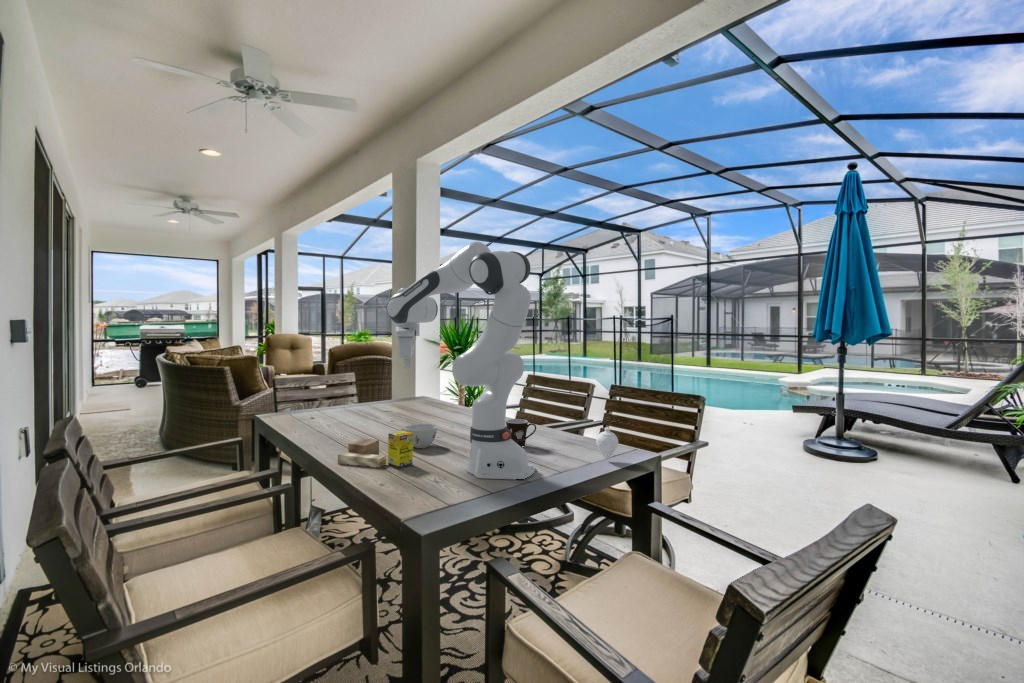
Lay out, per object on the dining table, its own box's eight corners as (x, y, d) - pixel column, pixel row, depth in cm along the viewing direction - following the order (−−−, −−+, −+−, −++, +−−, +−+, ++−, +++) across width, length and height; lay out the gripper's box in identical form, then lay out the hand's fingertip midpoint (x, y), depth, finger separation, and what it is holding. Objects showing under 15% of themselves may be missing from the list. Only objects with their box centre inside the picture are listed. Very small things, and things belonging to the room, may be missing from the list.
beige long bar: (385, 464, 159) (385, 455, 158) (379, 467, 155) (379, 458, 155) (344, 460, 163) (344, 451, 163) (337, 463, 159) (337, 454, 159)
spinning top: (607, 466, 159) (608, 431, 159) (591, 460, 165) (591, 427, 165) (622, 462, 164) (623, 428, 163) (606, 457, 170) (606, 424, 169)
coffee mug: (503, 448, 180) (504, 422, 179) (507, 443, 188) (508, 418, 188) (533, 450, 178) (534, 424, 178) (536, 444, 186) (536, 419, 186)
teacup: (442, 443, 187) (442, 423, 186) (431, 452, 174) (431, 430, 174) (406, 441, 189) (406, 421, 189) (393, 449, 177) (393, 428, 177)
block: (379, 456, 168) (378, 440, 168) (365, 462, 161) (365, 445, 160) (362, 454, 170) (362, 438, 170) (348, 460, 163) (348, 443, 163)
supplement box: (399, 468, 154) (399, 436, 154) (387, 465, 158) (387, 433, 157) (413, 464, 159) (413, 432, 158) (401, 461, 162) (401, 430, 162)
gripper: (401, 330, 183) (401, 365, 184) (395, 331, 163) (395, 371, 164) (417, 330, 184) (417, 365, 185) (414, 332, 164) (414, 371, 164)
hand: (407, 368), depth 174 cm, fingers closed
